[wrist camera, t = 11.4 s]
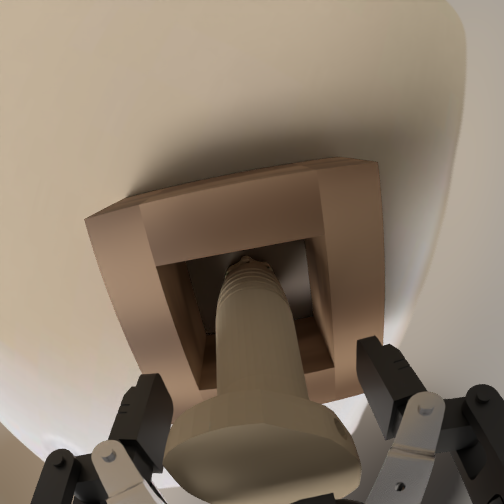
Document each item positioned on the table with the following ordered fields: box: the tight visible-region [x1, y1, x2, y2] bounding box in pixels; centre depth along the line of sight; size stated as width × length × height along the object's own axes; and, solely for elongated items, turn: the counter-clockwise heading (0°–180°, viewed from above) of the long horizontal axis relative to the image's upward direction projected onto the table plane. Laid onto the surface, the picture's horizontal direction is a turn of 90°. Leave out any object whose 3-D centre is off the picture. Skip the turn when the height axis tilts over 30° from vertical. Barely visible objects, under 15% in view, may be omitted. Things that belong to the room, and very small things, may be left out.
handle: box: [162, 256, 362, 504], centre depth 14 cm, size 5×6×15 cm
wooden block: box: [84, 157, 385, 424], centre depth 18 cm, size 14×14×6 cm
